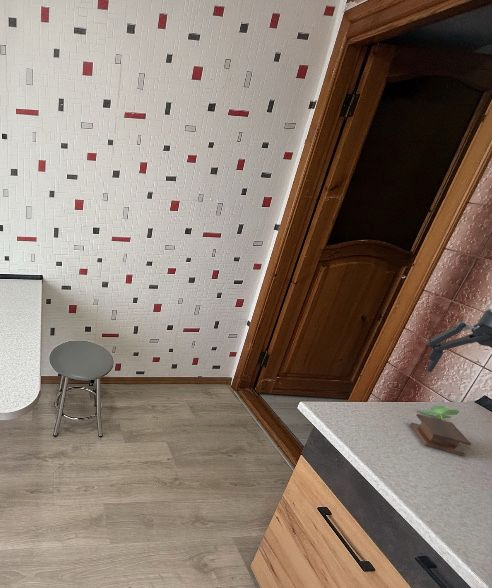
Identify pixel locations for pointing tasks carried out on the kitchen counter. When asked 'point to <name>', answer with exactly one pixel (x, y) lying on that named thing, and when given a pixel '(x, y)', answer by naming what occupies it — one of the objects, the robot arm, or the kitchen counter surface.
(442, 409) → the seedling
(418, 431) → the plant stand
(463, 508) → the kitchen counter surface
